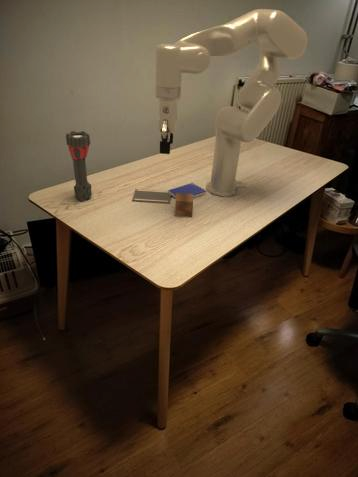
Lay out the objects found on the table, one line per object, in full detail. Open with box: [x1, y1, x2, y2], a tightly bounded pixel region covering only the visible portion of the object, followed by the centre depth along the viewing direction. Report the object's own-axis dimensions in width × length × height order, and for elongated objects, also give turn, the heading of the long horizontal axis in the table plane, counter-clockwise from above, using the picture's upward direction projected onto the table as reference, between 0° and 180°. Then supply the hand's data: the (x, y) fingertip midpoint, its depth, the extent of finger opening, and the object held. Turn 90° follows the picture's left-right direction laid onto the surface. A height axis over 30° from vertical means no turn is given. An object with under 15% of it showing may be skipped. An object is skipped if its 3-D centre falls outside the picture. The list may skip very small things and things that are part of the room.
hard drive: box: [167, 182, 207, 199], centre depth 127 cm, size 2×8×12 cm
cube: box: [174, 193, 194, 218], centre depth 114 cm, size 6×6×6 cm
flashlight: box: [65, 130, 92, 202], centre depth 115 cm, size 8×8×23 cm
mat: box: [131, 188, 172, 205], centre depth 124 cm, size 14×9×1 cm, turn 89°
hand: (166, 148), depth 108 cm, fingers open, 9 cm apart
